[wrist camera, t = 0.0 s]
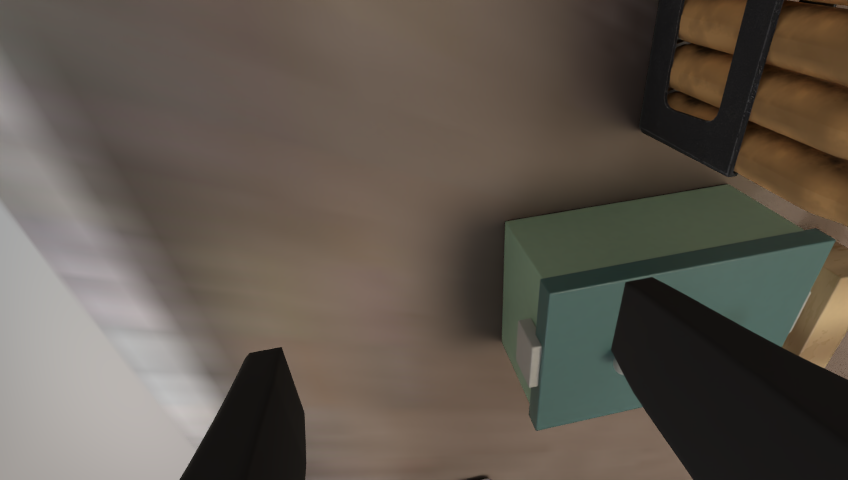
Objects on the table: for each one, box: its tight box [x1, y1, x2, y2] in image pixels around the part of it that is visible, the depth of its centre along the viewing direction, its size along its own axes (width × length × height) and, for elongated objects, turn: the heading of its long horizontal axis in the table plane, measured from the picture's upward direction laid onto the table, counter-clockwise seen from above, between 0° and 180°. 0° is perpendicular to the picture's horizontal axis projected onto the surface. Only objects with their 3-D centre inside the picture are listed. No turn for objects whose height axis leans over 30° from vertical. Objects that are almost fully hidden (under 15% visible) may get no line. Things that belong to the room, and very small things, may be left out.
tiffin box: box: [502, 184, 836, 431], centre depth 21 cm, size 8×12×6 cm, turn 94°
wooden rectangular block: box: [782, 241, 848, 368], centre depth 29 cm, size 18×5×3 cm, turn 4°
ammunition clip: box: [639, 0, 848, 227], centre depth 12 cm, size 11×2×12 cm, turn 6°
